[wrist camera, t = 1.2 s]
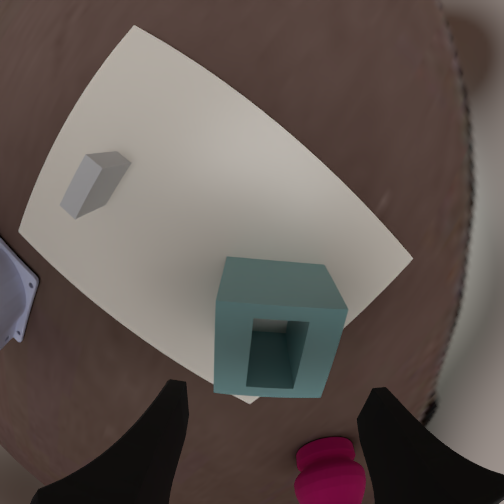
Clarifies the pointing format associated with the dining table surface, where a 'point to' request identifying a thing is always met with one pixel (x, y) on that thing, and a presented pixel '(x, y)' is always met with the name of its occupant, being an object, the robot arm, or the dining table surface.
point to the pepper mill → (329, 473)
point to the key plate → (191, 202)
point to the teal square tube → (271, 343)
